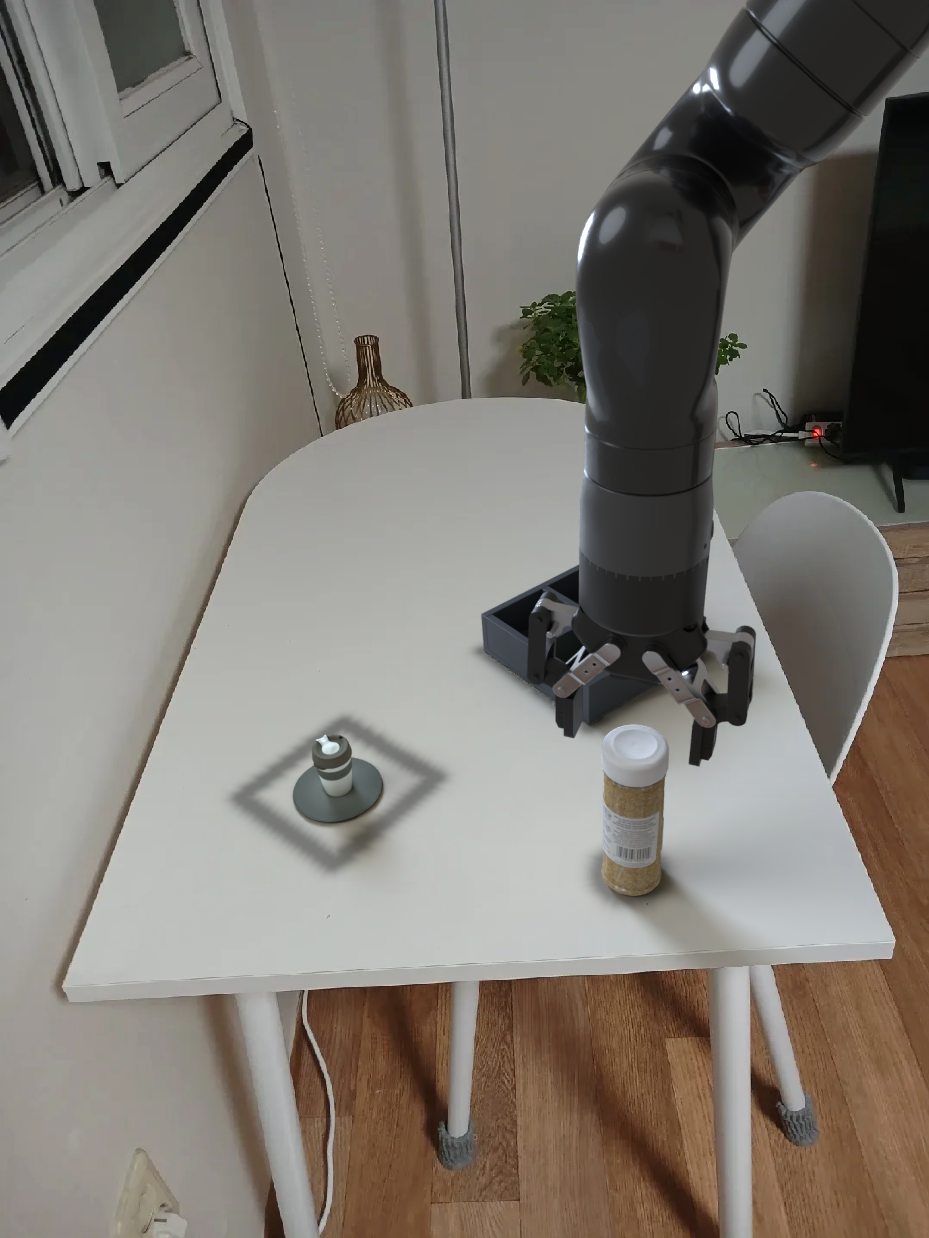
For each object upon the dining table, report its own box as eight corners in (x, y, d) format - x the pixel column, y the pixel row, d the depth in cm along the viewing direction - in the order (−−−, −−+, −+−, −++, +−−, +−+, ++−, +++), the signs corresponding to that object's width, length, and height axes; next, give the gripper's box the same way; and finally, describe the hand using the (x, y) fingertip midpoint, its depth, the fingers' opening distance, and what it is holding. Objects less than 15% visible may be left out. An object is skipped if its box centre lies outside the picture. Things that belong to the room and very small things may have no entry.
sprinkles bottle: (667, 860, 73) (676, 729, 65) (652, 906, 70) (660, 774, 62) (609, 844, 75) (612, 715, 67) (592, 888, 72) (592, 758, 64)
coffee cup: (335, 863, 75) (325, 820, 73) (241, 797, 82) (228, 755, 79) (436, 777, 82) (431, 734, 80) (342, 722, 89) (334, 681, 86)
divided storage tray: (703, 655, 94) (706, 617, 91) (588, 725, 86) (589, 686, 84) (593, 592, 104) (594, 556, 101) (483, 650, 97) (480, 613, 94)
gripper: (506, 551, 55) (516, 757, 64) (760, 591, 50) (731, 807, 59) (547, 492, 61) (551, 689, 70) (780, 523, 56) (750, 730, 65)
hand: (633, 743), depth 65 cm, fingers open, 8 cm apart
